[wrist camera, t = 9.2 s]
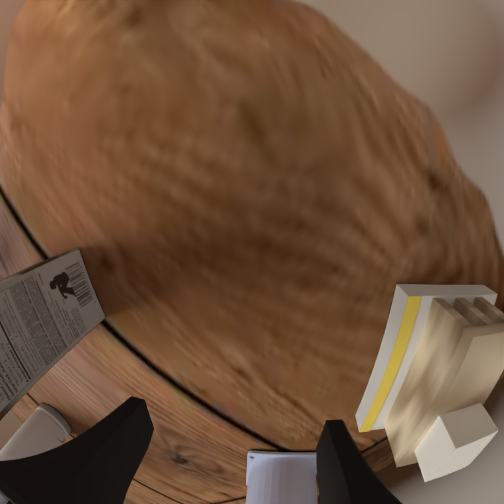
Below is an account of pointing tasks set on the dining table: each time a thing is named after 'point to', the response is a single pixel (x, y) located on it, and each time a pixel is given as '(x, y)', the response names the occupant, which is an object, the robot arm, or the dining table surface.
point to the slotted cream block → (446, 370)
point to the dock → (405, 344)
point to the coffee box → (42, 321)
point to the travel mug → (37, 434)
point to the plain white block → (454, 441)
